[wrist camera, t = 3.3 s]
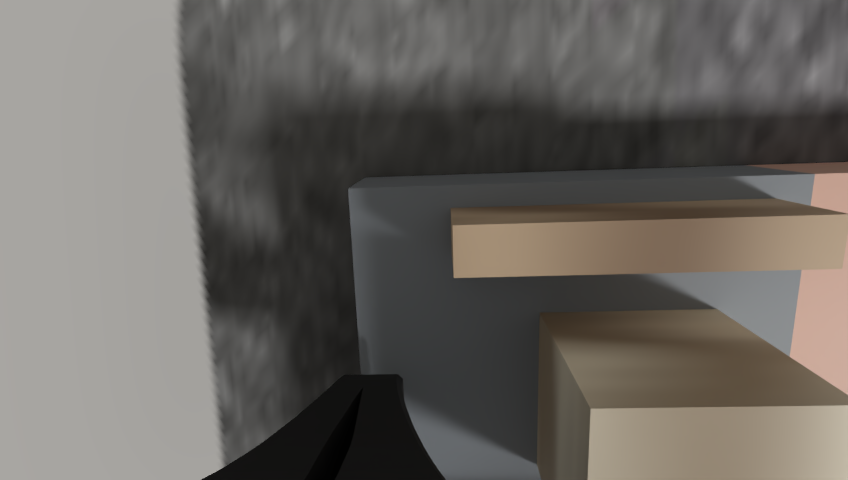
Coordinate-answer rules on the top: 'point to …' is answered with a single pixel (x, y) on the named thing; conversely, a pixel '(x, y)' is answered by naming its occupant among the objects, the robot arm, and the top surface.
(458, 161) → the top surface
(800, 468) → the birch block
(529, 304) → the board
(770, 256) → the channel walls
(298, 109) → the top surface
